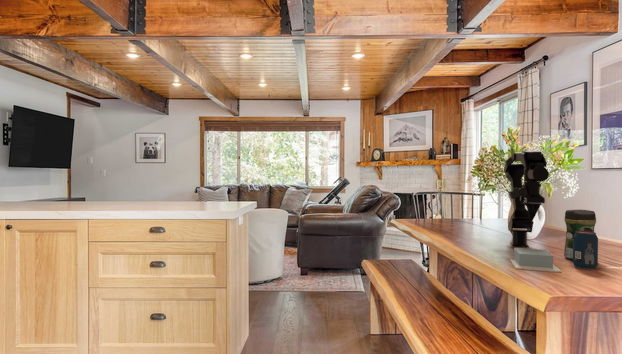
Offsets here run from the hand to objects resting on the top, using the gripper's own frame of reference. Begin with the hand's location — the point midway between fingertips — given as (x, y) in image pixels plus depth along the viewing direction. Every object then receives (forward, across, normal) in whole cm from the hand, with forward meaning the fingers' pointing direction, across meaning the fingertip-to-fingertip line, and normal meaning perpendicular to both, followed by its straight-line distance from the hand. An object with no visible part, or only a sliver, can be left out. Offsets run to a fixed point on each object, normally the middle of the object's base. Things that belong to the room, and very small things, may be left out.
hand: (531, 219), depth 162 cm
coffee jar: (+13, +10, +14) cm, 22 cm away
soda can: (+14, +24, +12) cm, 31 cm away
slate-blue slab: (+11, +20, -4) cm, 23 cm away
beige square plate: (+13, +29, -4) cm, 32 cm away
